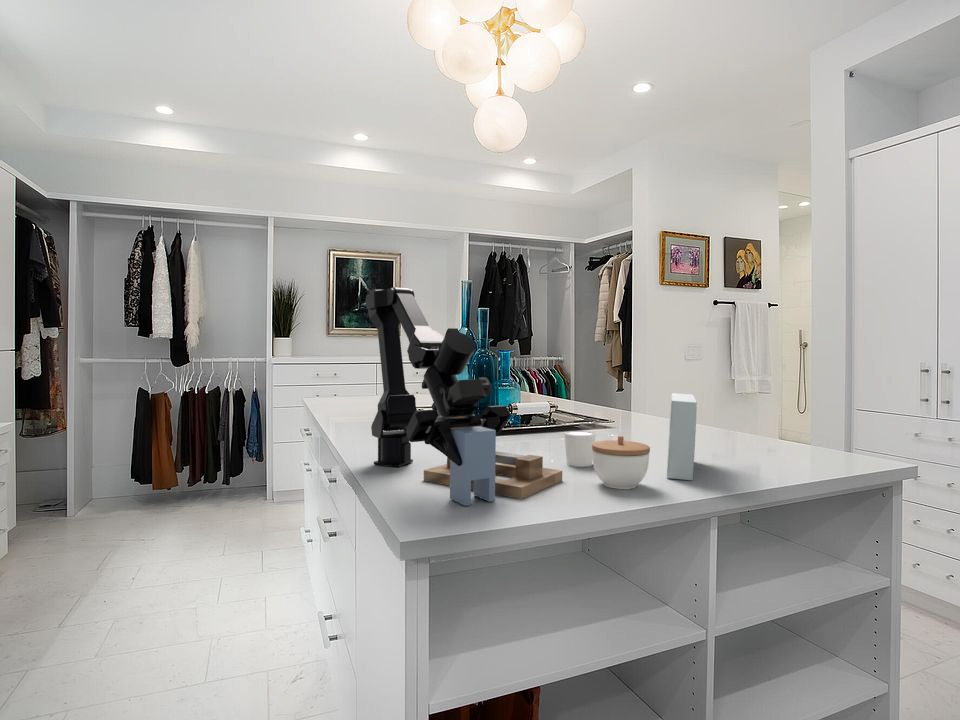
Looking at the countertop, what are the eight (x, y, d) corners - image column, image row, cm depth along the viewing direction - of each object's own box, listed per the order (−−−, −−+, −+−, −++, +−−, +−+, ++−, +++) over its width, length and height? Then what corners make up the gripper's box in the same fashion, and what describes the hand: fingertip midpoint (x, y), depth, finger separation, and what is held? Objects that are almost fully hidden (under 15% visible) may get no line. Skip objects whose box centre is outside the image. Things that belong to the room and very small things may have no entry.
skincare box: (695, 482, 111) (697, 401, 111) (666, 479, 113) (668, 400, 113) (692, 461, 131) (693, 393, 131) (667, 459, 133) (668, 392, 132)
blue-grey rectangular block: (464, 505, 92) (465, 433, 92) (449, 498, 97) (450, 428, 96) (494, 500, 96) (495, 430, 95) (479, 493, 100) (480, 426, 100)
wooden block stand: (423, 480, 110) (423, 452, 110) (470, 466, 123) (471, 441, 123) (521, 498, 98) (521, 467, 97) (562, 480, 111) (562, 452, 111)
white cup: (562, 460, 130) (562, 430, 130) (592, 461, 130) (592, 430, 130) (565, 467, 123) (566, 435, 123) (597, 467, 123) (597, 435, 123)
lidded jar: (598, 492, 102) (599, 441, 102) (586, 478, 113) (586, 431, 113) (657, 492, 103) (658, 441, 102) (639, 478, 113) (640, 432, 113)
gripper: (413, 362, 94) (444, 438, 85) (505, 361, 104) (542, 429, 95) (394, 405, 101) (420, 479, 92) (482, 400, 111) (514, 467, 102)
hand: (476, 462), depth 95 cm, fingers closed on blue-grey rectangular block, 6 cm apart
